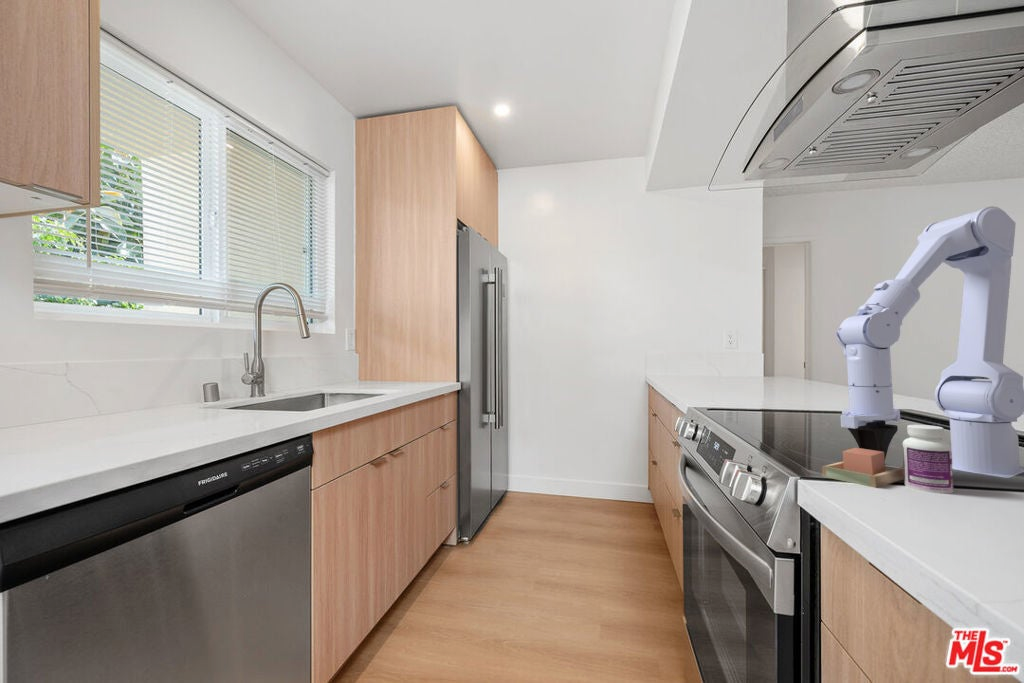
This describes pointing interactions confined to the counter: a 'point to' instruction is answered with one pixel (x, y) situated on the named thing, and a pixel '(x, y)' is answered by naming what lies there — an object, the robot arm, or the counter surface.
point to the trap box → (863, 475)
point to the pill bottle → (927, 460)
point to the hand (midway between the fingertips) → (874, 467)
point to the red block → (864, 461)
